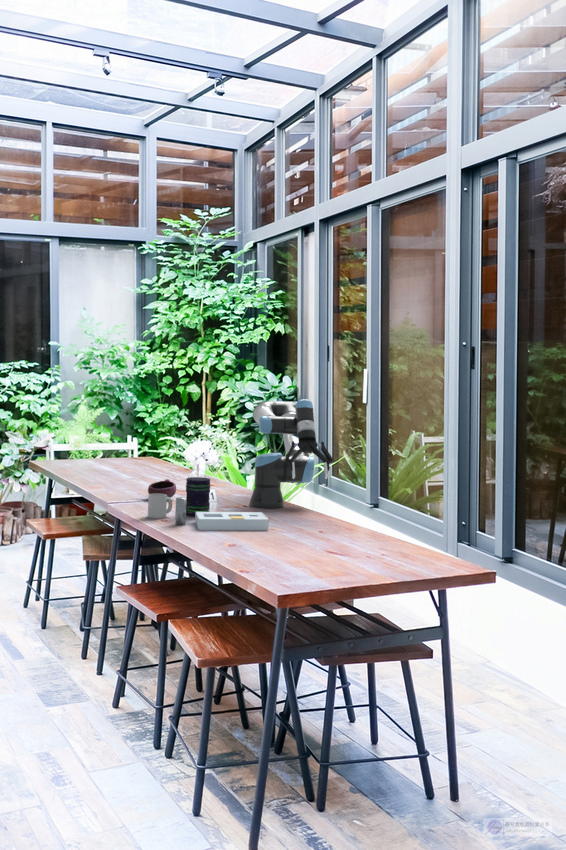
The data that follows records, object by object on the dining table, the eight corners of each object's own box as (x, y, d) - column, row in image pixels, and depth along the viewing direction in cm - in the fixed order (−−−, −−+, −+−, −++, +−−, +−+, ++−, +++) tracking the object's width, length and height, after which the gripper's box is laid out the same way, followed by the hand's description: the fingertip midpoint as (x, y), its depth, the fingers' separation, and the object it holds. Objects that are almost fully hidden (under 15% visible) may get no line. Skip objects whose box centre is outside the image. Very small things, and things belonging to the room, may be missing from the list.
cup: (144, 516, 323) (145, 493, 322) (168, 514, 328) (168, 492, 327) (151, 519, 317) (152, 496, 316) (175, 517, 322) (176, 495, 321)
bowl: (179, 501, 364) (179, 483, 363) (150, 502, 359) (151, 484, 358) (170, 496, 379) (170, 479, 378) (142, 496, 374) (143, 479, 373)
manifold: (195, 522, 314) (195, 510, 314) (261, 522, 319) (261, 511, 319) (198, 529, 298) (199, 518, 298) (268, 530, 303) (268, 518, 303)
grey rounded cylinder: (174, 523, 310) (175, 497, 309) (185, 523, 310) (186, 497, 310) (175, 525, 306) (176, 498, 305) (186, 525, 306) (186, 499, 306)
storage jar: (211, 514, 333) (212, 477, 333) (206, 518, 324) (208, 480, 323) (187, 512, 334) (188, 476, 334) (182, 516, 325) (183, 479, 324)
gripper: (278, 428, 339) (281, 473, 328) (336, 428, 342) (341, 473, 331) (276, 437, 345) (279, 481, 334) (333, 437, 349) (338, 481, 338)
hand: (310, 477), depth 333 cm, fingers open, 13 cm apart
